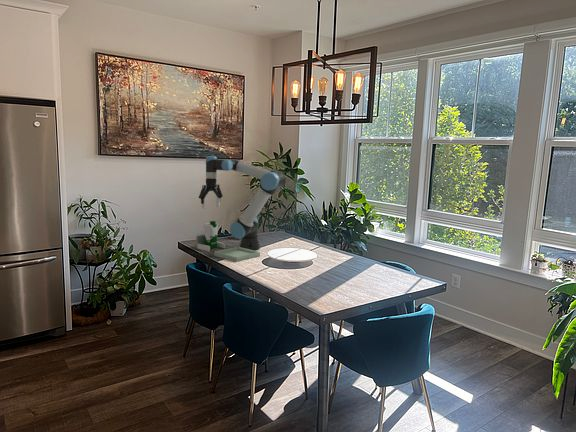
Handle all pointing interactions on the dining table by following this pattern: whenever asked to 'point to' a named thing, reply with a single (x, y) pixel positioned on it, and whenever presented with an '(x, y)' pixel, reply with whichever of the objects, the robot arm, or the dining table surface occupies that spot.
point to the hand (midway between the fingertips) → (210, 207)
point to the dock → (204, 247)
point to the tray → (237, 254)
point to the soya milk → (211, 234)
